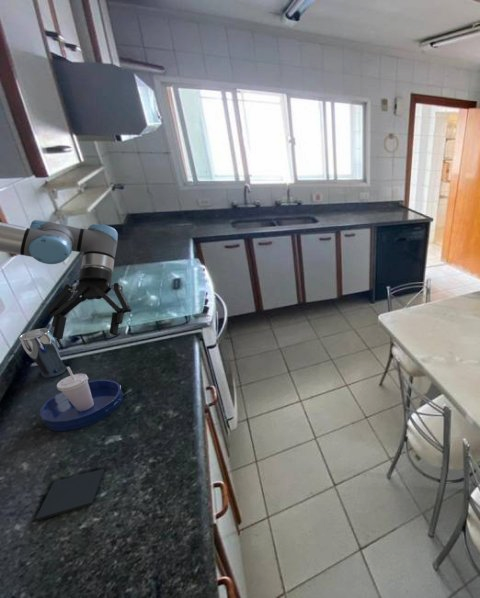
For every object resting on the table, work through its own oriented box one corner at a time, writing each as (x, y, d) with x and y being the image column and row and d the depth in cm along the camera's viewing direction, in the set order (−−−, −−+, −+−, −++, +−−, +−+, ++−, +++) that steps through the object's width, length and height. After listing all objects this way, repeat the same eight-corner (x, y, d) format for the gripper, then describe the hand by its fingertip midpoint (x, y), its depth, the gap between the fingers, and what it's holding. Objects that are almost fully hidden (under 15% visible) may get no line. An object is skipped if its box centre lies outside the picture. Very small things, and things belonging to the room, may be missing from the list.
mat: (36, 521, 68) (34, 519, 68) (54, 484, 75) (53, 481, 75) (92, 504, 72) (91, 502, 71) (104, 470, 79) (103, 468, 79)
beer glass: (39, 381, 104) (16, 342, 98) (41, 370, 109) (19, 332, 102) (68, 373, 108) (48, 334, 102) (70, 363, 113) (50, 325, 106)
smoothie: (103, 404, 97) (84, 365, 91) (76, 418, 92) (54, 378, 86) (94, 395, 100) (75, 358, 93) (66, 409, 95) (44, 370, 88)
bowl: (32, 438, 85) (26, 429, 84) (59, 396, 99) (55, 387, 98) (115, 420, 93) (111, 411, 91) (129, 383, 106) (126, 374, 105)
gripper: (148, 274, 111) (141, 335, 104) (56, 277, 104) (42, 342, 97) (137, 264, 104) (129, 329, 97) (38, 266, 97) (22, 336, 90)
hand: (86, 336), depth 97 cm, fingers open, 13 cm apart
